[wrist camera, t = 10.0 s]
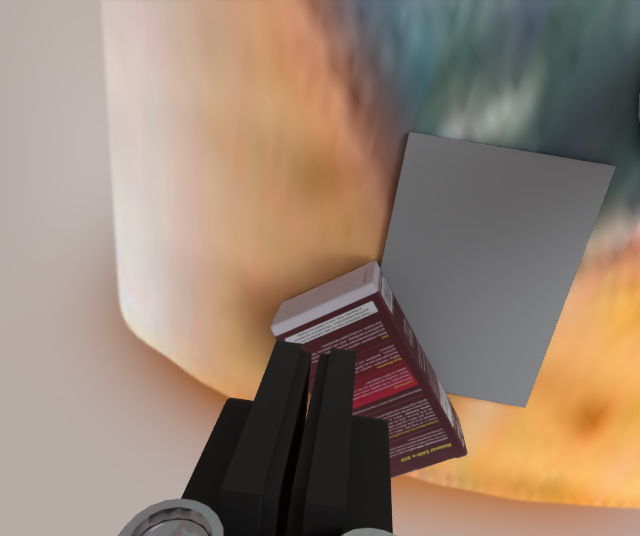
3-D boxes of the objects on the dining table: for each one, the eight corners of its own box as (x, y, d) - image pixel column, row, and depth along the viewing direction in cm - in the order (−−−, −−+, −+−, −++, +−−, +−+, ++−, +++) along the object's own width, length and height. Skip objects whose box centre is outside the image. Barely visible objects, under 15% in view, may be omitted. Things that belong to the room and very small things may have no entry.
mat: (612, 165, 33) (616, 166, 33) (523, 403, 40) (525, 407, 40) (409, 131, 34) (409, 132, 33) (357, 373, 41) (357, 376, 41)
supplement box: (281, 299, 39) (368, 449, 43) (266, 327, 35) (365, 491, 39) (378, 256, 37) (461, 418, 41) (376, 279, 32) (469, 459, 36)
